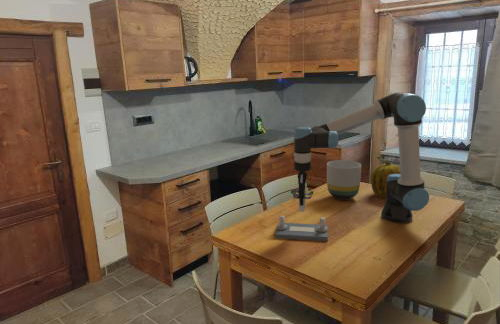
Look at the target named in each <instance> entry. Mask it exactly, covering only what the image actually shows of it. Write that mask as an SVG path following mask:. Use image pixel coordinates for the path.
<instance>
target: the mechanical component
mask: <svg viewBox="0 0 500 324" xmlns="http://www.w3.org/2000/svg"><path fill="white" fill-rule="evenodd" d="M290 194H292V197H293V199H297V200H299V198H297V197H299V188H293V189H291V190H290ZM313 195H314V190H310V191H309V192H307V191H305V193H304V197H305V200H311V199H312V197H313Z"/></svg>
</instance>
